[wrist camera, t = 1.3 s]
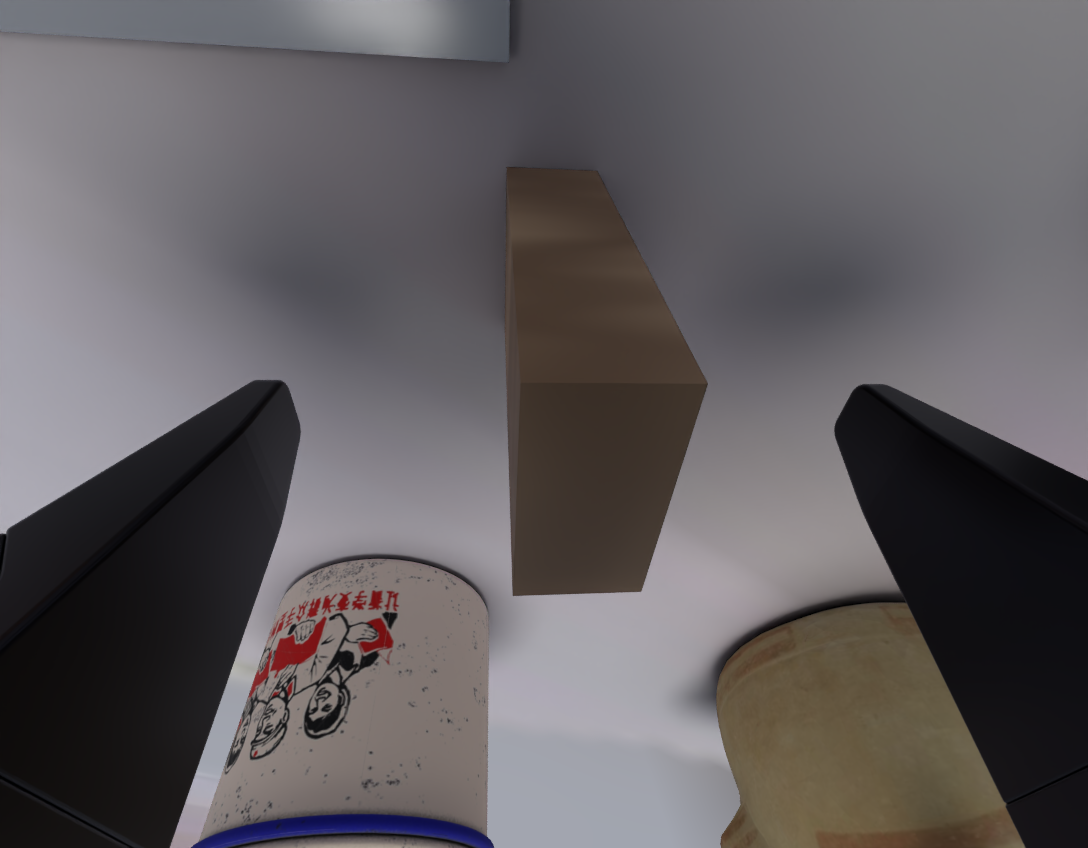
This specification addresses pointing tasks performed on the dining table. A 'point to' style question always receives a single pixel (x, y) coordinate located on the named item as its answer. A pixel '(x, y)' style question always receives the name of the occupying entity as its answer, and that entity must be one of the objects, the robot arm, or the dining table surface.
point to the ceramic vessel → (852, 740)
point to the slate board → (282, 24)
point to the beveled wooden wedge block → (587, 390)
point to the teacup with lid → (363, 717)
